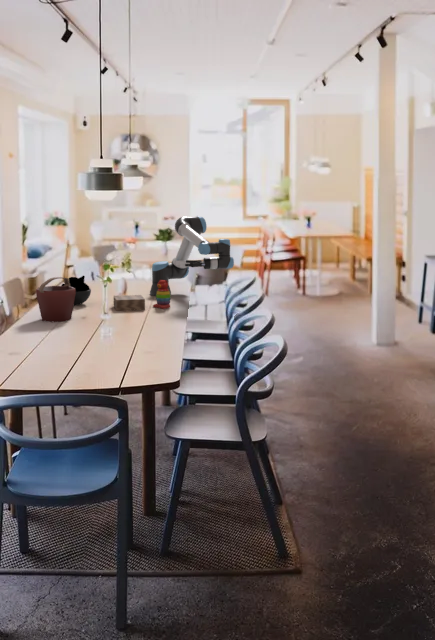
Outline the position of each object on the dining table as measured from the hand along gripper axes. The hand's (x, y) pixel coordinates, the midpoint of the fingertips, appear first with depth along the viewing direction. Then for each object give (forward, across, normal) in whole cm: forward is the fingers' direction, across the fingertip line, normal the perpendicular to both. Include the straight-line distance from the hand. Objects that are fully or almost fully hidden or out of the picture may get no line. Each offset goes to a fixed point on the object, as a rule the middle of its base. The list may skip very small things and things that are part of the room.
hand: (177, 263), depth 511 cm
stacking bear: (+10, 0, -28) cm, 30 cm away
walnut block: (+32, 0, -28) cm, 42 cm away
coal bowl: (+64, +21, -28) cm, 73 cm away
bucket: (+78, -31, -28) cm, 89 cm away
